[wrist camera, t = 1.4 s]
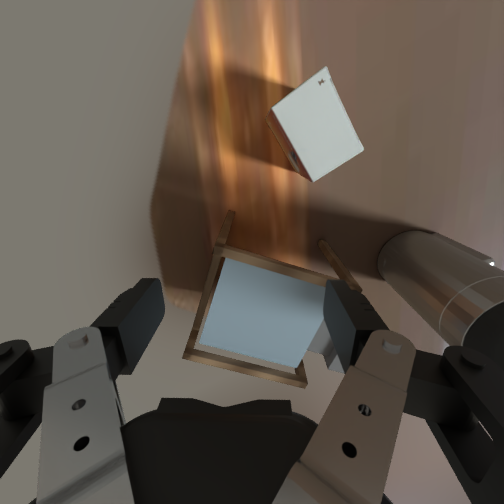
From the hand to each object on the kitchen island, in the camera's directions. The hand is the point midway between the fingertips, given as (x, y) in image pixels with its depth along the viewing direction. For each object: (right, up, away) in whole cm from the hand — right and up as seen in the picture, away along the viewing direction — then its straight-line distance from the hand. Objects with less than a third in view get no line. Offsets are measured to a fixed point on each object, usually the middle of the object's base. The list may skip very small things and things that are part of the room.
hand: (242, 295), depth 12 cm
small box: (+7, +17, +20) cm, 27 cm away
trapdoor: (+5, -5, +18) cm, 19 cm away
